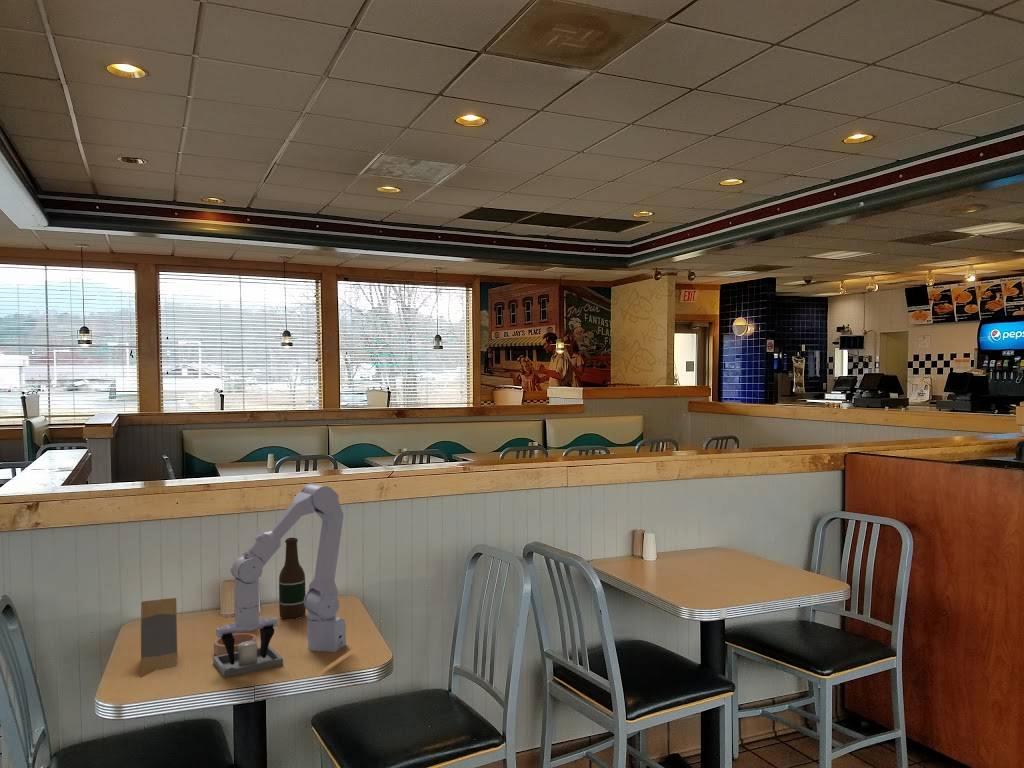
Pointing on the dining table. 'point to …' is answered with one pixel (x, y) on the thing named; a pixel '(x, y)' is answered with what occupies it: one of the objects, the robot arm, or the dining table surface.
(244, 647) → the white cylinder
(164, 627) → the sandwich container
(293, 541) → the beer bottle
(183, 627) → the dining table surface
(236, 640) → the bowl
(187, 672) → the dining table surface
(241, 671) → the tray
